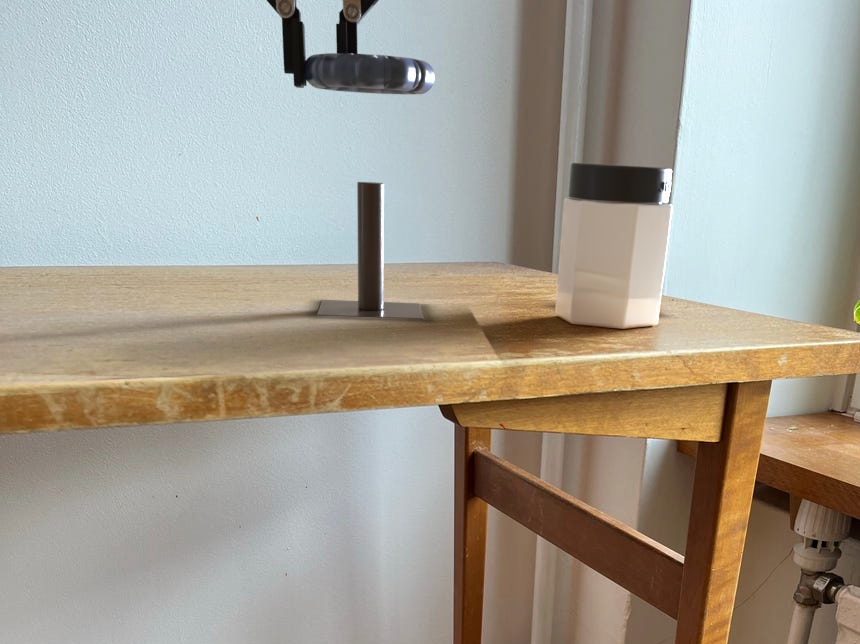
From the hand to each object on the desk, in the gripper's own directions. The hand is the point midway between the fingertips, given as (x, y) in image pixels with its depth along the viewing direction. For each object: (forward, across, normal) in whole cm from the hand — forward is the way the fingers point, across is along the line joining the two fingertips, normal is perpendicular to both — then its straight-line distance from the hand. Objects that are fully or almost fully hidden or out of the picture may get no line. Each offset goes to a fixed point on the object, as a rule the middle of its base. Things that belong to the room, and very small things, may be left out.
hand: (321, 85), depth 70 cm
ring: (-1, +3, 0) cm, 4 cm away
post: (+16, +3, 0) cm, 17 cm away
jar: (+16, +23, +5) cm, 29 cm away
